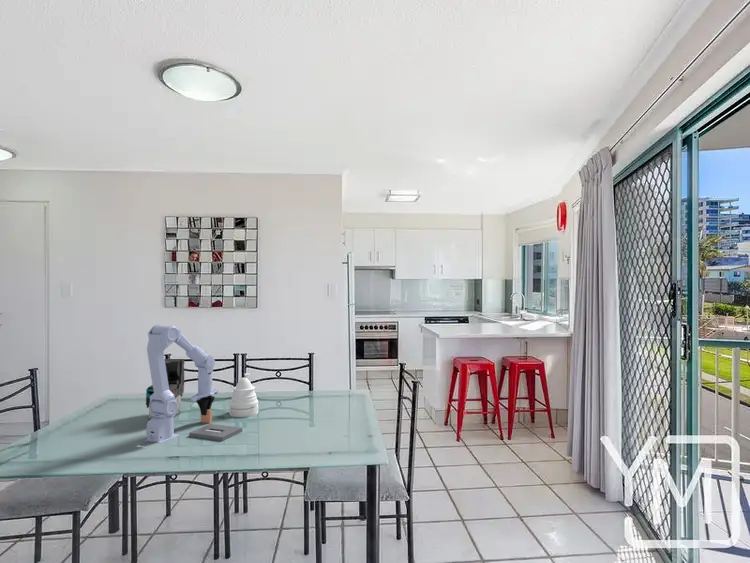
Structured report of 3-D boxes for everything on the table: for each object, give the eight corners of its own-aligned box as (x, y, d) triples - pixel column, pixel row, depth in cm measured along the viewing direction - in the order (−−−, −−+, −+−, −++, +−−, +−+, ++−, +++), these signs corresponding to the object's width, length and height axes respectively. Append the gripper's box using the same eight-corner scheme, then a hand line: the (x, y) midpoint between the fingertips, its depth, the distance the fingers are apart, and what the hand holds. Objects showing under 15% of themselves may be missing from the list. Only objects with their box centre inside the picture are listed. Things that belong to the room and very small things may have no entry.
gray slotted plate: (222, 442, 175) (222, 436, 175) (189, 437, 181) (189, 432, 181) (242, 432, 186) (242, 427, 186) (210, 428, 192) (210, 423, 192)
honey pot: (244, 408, 224) (244, 370, 224) (264, 411, 217) (264, 373, 217) (223, 414, 213) (223, 375, 213) (243, 418, 206) (243, 378, 206)
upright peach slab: (209, 424, 198) (209, 410, 198) (200, 423, 200) (200, 409, 199) (211, 423, 199) (211, 409, 199) (202, 422, 201) (202, 408, 201)
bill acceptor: (144, 425, 196) (144, 367, 196) (161, 411, 219) (161, 358, 219) (170, 424, 198) (170, 366, 198) (185, 410, 220) (184, 357, 220)
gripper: (200, 387, 191) (200, 419, 191) (223, 380, 205) (224, 410, 205) (187, 385, 194) (187, 418, 194) (211, 379, 207) (211, 409, 207)
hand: (205, 414), depth 199 cm, fingers closed on upright peach slab
